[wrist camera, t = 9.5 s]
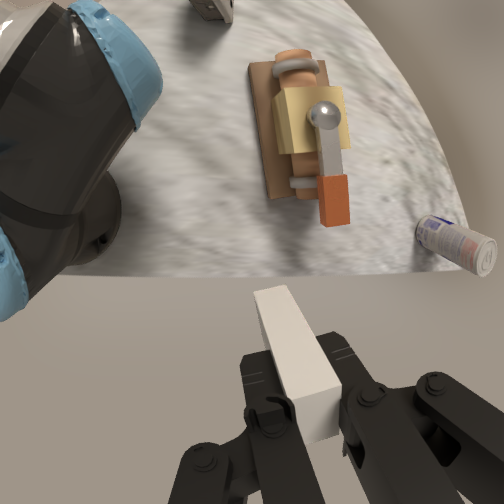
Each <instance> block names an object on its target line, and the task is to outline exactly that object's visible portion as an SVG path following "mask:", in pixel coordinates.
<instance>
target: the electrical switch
mask: <svg viewBox="0 0 504 504" xmlns="http://www.w3.org/2000/svg"><path fill="white" fill-rule="evenodd" d="M189 1H190V2H191V3H192V5H193V6H194V7H195V8H196V9H197V11H198V12H199V13H200V14H201V16H202V17H203V18H204V20H212V19H224V20H225V23H230V22H233V3H234V0H189Z"/></svg>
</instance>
